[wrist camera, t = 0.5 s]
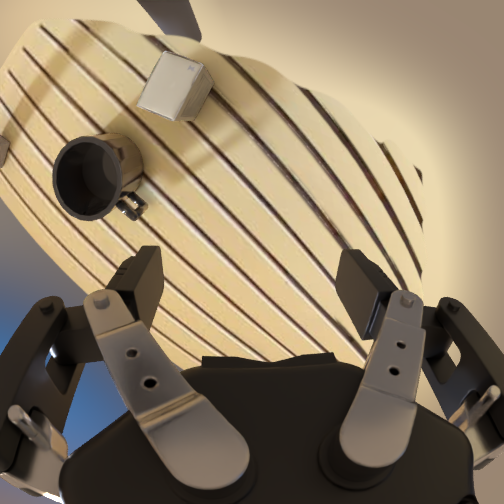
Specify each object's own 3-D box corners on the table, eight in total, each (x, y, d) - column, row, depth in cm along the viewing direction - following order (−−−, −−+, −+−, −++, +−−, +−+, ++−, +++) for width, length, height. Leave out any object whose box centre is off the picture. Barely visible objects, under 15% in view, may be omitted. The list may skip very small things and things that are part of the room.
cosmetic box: (186, 70, 30) (165, 46, 19) (215, 82, 31) (206, 61, 20) (164, 111, 32) (133, 106, 21) (193, 123, 33) (173, 122, 22)
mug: (70, 174, 34) (41, 186, 27) (107, 118, 32) (79, 119, 24) (131, 229, 39) (111, 252, 32) (174, 178, 36) (159, 191, 29)
